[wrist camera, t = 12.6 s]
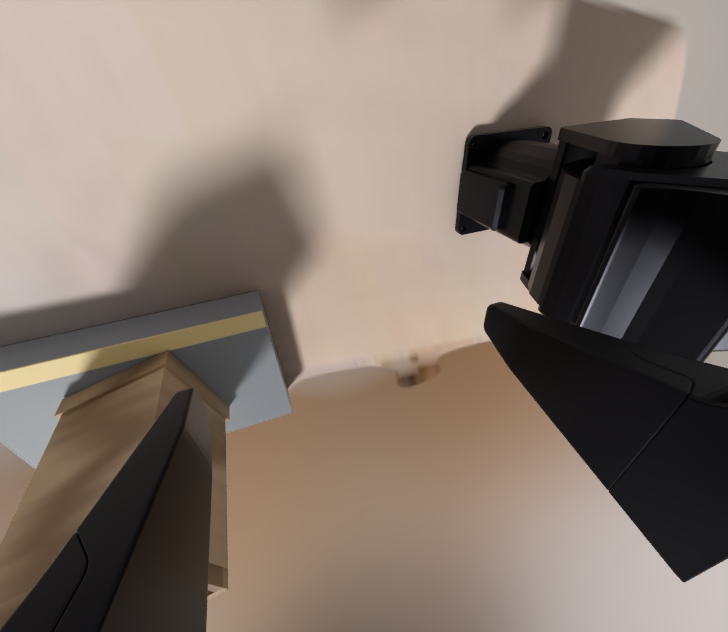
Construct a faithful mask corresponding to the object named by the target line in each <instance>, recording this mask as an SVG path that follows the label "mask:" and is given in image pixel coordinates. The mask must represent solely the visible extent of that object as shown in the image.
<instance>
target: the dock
mask: <svg viewBox="0 0 728 632" xmlns="http://www.w3.org/2000/svg"><path fill="white" fill-rule="evenodd" d="M166 350H169V351H170V352H171V353H173V354H174V355H175V356H176V357H177V358H178V359H179V360H180V361H181V362H182V363H183V364H184V365H185V366H186V367H188V368H189V369H190V370H191V371H192V372H193V373H194V374H195V375H196V376H197V377H198V378H199V379H200V380H201V381H203V382H204V383H205V384H206V385H207V386H208V387H209V388H210V389H211V390H212V391H213V392H214V393H215V394H216V395H218V396H219V397H220V398H221V399H222V400H223V401H224V402H225V403H226V404H227V405H228V406H229V412H230V420H229V421H227V422H225V428H226V433H229V432H232V431H235V430H238V429H241V428H245V427H248V426H251V425H254V424H257V423H260V422H264V421H267V420H270V419H273V418H276V417H279V416H282V415H286V414H289V413H292V408H291V403H290V398H289V393H288V389H287V386H286V382H285V379H284V375H283V372H282V369H281V365H280V362H279V359H278V355H277V352H276V348H275V345H274V342H273V338H272V335H271V332H270V328H269V325H268V321H267V318H266V315H265V311H264V308H263V304H262V301H261V298H260V294H259V291H254V292H249V293H245V294H240V295H236V296H231V297H227V298H222V299H217V300H213V301H208V302H204V303H199V304H195V305H190V306H185V307H181V308H176V309H172V310H167V311H163V312H158V313H153V314H149V315H144V316H140V317H135V318H131V319H126V320H121V321H117V322H112V323H108V324H103V325H99V326H94V327H89V328H85V329H80V330H76V331H71V332H67V333H62V334H57V335H53V336H48V337H44V338H39V339H35V340H30V341H25V342H21V343H16V344H12V345H7V346H3V347H0V442H1V443H2V444H3V445H5V446H6V447H7V448H9V449H10V450H11V451H12V452H14V453H15V454H16V455H18V456H19V457H20V458H22V459H23V460H24V461H25V462H27V463H28V464H29V465H31V466H32V467H33V468H35V469H36V468H37V466H38V464H39V462H40V460H41V458H42V455H43V453H44V451H45V449H46V447H47V445H48V443H49V441H50V438H51V436H52V434H53V432H54V430H55V428H56V426H57V424H58V422H59V419H58V418H56V417H54V415H55V413H56V411H57V409H58V407H59V405H60V403H61V401H62V399H64V398H67V397H69V396H71V395H73V394H75V393H77V392H79V391H81V390H84V389H86V388H88V387H90V386H92V385H94V384H96V383H98V382H100V381H103V380H105V379H107V378H109V377H111V376H113V375H115V374H117V373H120V372H122V371H124V370H126V369H128V368H130V367H132V366H134V365H137V364H139V363H141V362H143V361H145V360H147V359H149V358H151V357H153V356H156V355H158V354H160V353H162V352H164V351H166Z"/></svg>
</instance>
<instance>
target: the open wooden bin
mask: <svg viewBox="0 0 728 632" xmlns="http://www.w3.org/2000/svg"><path fill="white" fill-rule="evenodd" d="M188 388H195V389H196V390H197V392H198V394H199V395H200V397H201V399H202V401H203V403H204V404H205V406H206V409H207V413H208V421H209V433H210V444H211V456H212V496H211V521H210V545H209V570H208V594H207V600H209V599H211V598H213V597H215V596H216V595H218V594H220V593H222V592H224V591H226V590H227V589H228V557H227V556H228V554H227V491H226V428H225V422H227V421H229V420H230V412H229V406H228V405H227V404H226V403H225V402H224V401H223V400H222V399H221V398H220V397H219V396H218V395H216V394H215V393H214V392H213V391H212V390H211V389H210V388H209V387H208V386H207V385H206V384H205V383H204V382H203V381H201V380H200V379H199V378H198V377H197V376H196V375H195V374H194V373H193V372H192V371H191V370H190V369H189V368H188V367H186V366H185V365H184V364H183V363H182V362H181V361H180V360H179V359H178V358H177V357H176V356H175V355H174V354H173V353H171V352H170V351H169V350H166V351H164V352H162V353H160V354H158V355H156V356H153V357H151V358H149V359H147V360H145V361H143V362H141V363H139V364H137V365H134V366H132V367H130V368H128V369H126V370H124V371H122V372H120V373H117V374H115V375H113V376H111V377H109V378H107V379H105V380H103V381H100V382H98V383H96V384H94V385H92V386H90V387H88V388H86V389H84V390H81V391H79V392H77V393H75V394H73V395H71V396H69V397H67V398H64V399H62V401H61V403H60V405H59V407H58V409H57V411H56V413H55V415H54V417H56V418H58V419H59V422H58V424H57V426H56V428H55V430H54V432H53V434H52V436H51V438H50V441H49V443H48V445H47V447H46V449H45V451H44V453H43V455H42V458H41V460H40V462H39V464H38V466H37V468H36V470H35V472H34V475H33V477H32V479H31V481H30V483H29V485H28V488H27V490H26V492H25V494H24V496H23V498H22V500H21V502H20V505H19V506H18V509H17V511H16V513H15V515H14V517H13V519H12V521H11V523H10V526H9V528H8V530H7V532H6V534H5V536H4V538H3V540H2V542H1V545H0V628H1V627H2V626H3V625H4V623H5V622H6V621H7V620H8V618H9V617H10V616H11V615H12V613H13V612H14V611H15V610H16V608H17V607H18V606H19V605H20V603H21V602H22V601H23V600H24V598H25V597H26V596H27V595H28V593H29V592H30V591H31V590H32V588H33V587H34V586H35V585H36V583H37V582H38V581H39V579H40V578H41V577H42V575H43V574H44V573H45V571H46V570H47V569H48V567H49V566H50V565H51V563H52V562H53V561H54V559H55V558H56V557H57V555H58V554H59V553H60V551H61V550H62V549H63V547H64V546H65V544H66V543H67V542H68V540H69V539H70V538H71V536H72V535H73V534H74V533H77V528H78V527H79V525H80V524H81V523H82V521H83V520H84V519H85V517H86V516H87V514H88V513H89V512H90V510H91V509H92V508H93V506H94V505H95V503H96V502H97V501H98V499H99V498H100V497H101V495H102V494H103V492H104V491H105V490H106V488H107V487H108V486H109V484H110V483H111V481H112V480H113V479H114V477H115V476H116V475H117V473H118V472H119V470H120V469H121V468H122V466H123V465H124V463H125V462H126V461H127V459H128V458H129V457H130V455H131V454H132V452H133V451H134V450H135V448H136V447H137V446H138V444H139V443H140V441H141V440H142V439H143V437H144V436H145V435H146V433H147V432H148V430H149V429H150V428H151V426H152V425H153V424H154V422H155V421H156V419H157V418H158V417H159V415H160V414H161V413H162V411H163V410H164V408H165V407H166V406H167V404H168V403H169V402H170V400H171V399H172V397H173V396H174V395H175V394H176V393H177V392H178V391H181V390H185V389H188Z"/></svg>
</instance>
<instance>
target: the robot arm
mask: <svg viewBox="0 0 728 632" xmlns="http://www.w3.org/2000/svg"><path fill="white" fill-rule="evenodd" d="M543 133H544V135H543ZM551 134H552V130H551V128H550V127H547V126H539V127H531V128H523V129H515V130H507V131H499V132H491V133H483V134H475V135H471V136H470V137H468V139H467V140H466V143H465V150H464V158H463V167H462V173H461V178H460V186H459V195H458V203H457V217H456V225H455V230H456V232H458V233H459V234H461V235H464V234H469V233H473V232H478V231H483V230H488V229H491V230H493V231H497V232H498V233H500V234H502V235H504V236H506V237H508V238H510V239H512V240H513V241H515V242H517V243H519V244H524V245H526V246H528V247H530V250H529V254H528V258H527V261H526V265H525V269H524V270H523V271H522V273H521V277H520V280H521V281H522V283H523V284H524V285H525V287H526V288H527V289H528V291H529V293H530V295H531V296H532V297H533V299H534V300H535V301H536V302H537V304H539V307H538V310H539V311H540V312H541V314H538V313H535V312H532V311H529V310H525V309H522V308H519V307H516V306H512V305H509V304H506V303H503V302H498V303H494V304H491V305H489V306H488V308H487V311H486V316H485V321H484V330H485V332H486V334H487V335H488V337H489V338H490V340H491V341H492V342H493V344H494V346H495V347H496V349H497V350H498V352H499V353H500V355H501V357H502V358H503V359H504V361H505V363H506V364H507V365H508V367H509V368H510V370H511V371H512V372H513V374H514V375H515V376H516V377H517V378H518V380H519V381H520V382H521V383H522V384H523V386H524V387H525V388H526V390H527V391H528V392H529V393H530V395H531V396H532V397H533V398H534V400H535V401H536V402H537V403H538V404H539V405H540V407H541V408H542V409H543V411H544V412H545V413H546V414H547V416H548V417H549V418H550V419H551V421H552V422H553V423H554V424H555V425H556V427H557V428H558V429H559V430H560V432H561V433H562V434H563V435H564V437H565V438H566V439H567V440H568V442H569V443H570V444H571V445H572V447H574V449H575V450H576V451H577V453H578V454H579V455H580V456H581V458H582V459H583V460H584V461H585V463H586V464H587V465H588V466H589V468H590V469H591V470H592V471H593V473H594V474H595V475H596V476H597V477H598V479H599V480H600V481H601V482H602V484H603V485H604V486H605V487H606V489H608V490H609V493H610V494H611V495H612V496H613V498H614V499H615V500H616V501H617V502H618V504H619V505H620V506H621V507H622V509H623V510H624V511H625V512H626V514H627V515H628V516H629V517H630V518H631V520H632V521H633V522H634V524H635V525H636V526H637V527H638V529H639V530H640V531H641V532H642V533H643V535H644V536H645V537H646V538H647V540H648V541H649V542H650V543H651V545H652V546H653V547H654V548H655V550H657V552H658V553H659V555H660V556H661V557H662V558H663V559H664V561H665V562H666V563H667V564H668V566H669V567H670V568H671V569H672V570H673V572H674V573H675V574H676V575H677V576H678V577H679V578H680V580H681V581H682V582H686V581H688V580H690V579H692V578H694V577H695V576H697V575H699V574H701V573H702V572H704V571H706V570H708V569H710V568H711V567H713V566H715V565H717V564H719V563H720V562H722V561H724V560H726V559H728V368H724V367H720V366H716V365H712V364H708V363H704V361H705V359H706V358H707V357H708V356H709V355H710V353H711V352H715V351H728V152H720V151H716V149H717V147H718V145H719V143H720V142H721V139H720V138H718V137H716V136H714V135H711V134H710V133H707V132H705V131H703V130H701V129H699V128H697V127H695V126H693V125H691V124H689V123H687V122H684V121H682V120H671V119H640V118H628V119H620V120H612V121H604V122H596V123H588V124H580V125H573V126H565V127H561V129H560V133H559V137H558V140H560V141H559V145H556V144H551V143H549V142H550V138H551ZM542 135H543V137H542ZM474 141H475V146H474V147H473V148H472V144H473V142H474ZM463 225H464V227H463V229H461V228H462V226H463ZM542 314H543V315H542ZM211 496H212V456H211V444H210V433H209V421H208V413H207V409H206V406H205V404H204V403H203V401H202V399H201V397H200V395H199V394H198V392H197V390H196V389H195V388H188V389H185V390H181V391H178V392H177V393H176V394H175V395H174V396H173V397H172V399H171V400H170V402H169V403H168V404H167V406H166V407H165V408H164V410H163V411H162V413H161V414H160V415H159V417H158V418H157V419H156V421H155V422H154V424H153V425H152V426H151V428H150V429H149V430H148V432H147V433H146V435H145V436H144V437H143V439H142V440H141V441H140V443H139V444H138V446H137V447H136V448H135V450H134V451H133V452H132V454H131V455H130V457H129V458H128V459H127V461H126V462H125V463H124V465H123V466H122V468H121V469H120V470H119V472H118V473H117V475H116V476H115V477H114V479H113V480H112V481H111V483H110V484H109V486H108V487H107V488H106V490H105V491H104V492H103V494H102V495H101V497H100V498H99V499H98V501H97V502H96V503H95V505H94V506H93V508H92V509H91V510H90V512H89V513H88V514H87V516H86V517H85V519H84V520H83V521H82V523H81V524H80V525H79V527H78V528H77V533H74V534H73V535H72V536H71V538H70V539H69V540H68V542H67V543H66V544H65V546H64V547H63V549H62V550H61V551H60V553H59V554H58V555H57V557H56V558H55V559H54V561H53V562H52V563H51V565H50V566H49V567H48V569H47V570H46V571H45V573H44V574H43V575H42V577H41V578H40V579H39V581H38V582H37V583H36V585H35V586H34V587H33V588H32V590H31V591H30V592H29V593H28V595H27V596H26V597H25V598H24V600H23V601H22V602H21V603H20V605H19V606H18V607H17V608H16V610H15V611H14V612H13V613H12V615H11V616H10V617H9V618H8V620H7V621H6V622H5V623H4V625H3V626H2V627H1V628H0V632H206V618H207V594H208V570H209V545H210V521H211Z"/></svg>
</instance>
